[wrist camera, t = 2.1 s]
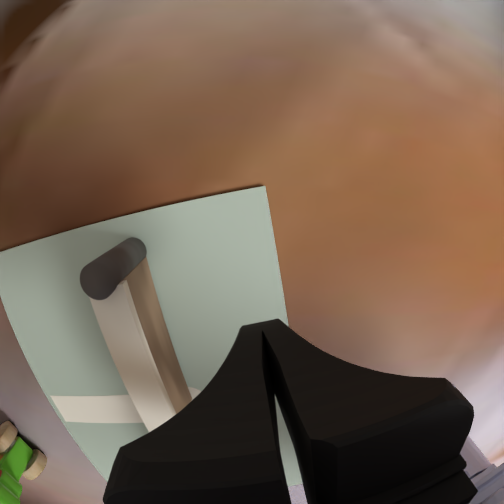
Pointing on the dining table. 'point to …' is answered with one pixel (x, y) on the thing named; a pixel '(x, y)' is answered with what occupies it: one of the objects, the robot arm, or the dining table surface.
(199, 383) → the card
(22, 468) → the toy lion
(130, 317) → the hinged fence section
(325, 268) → the dining table surface
